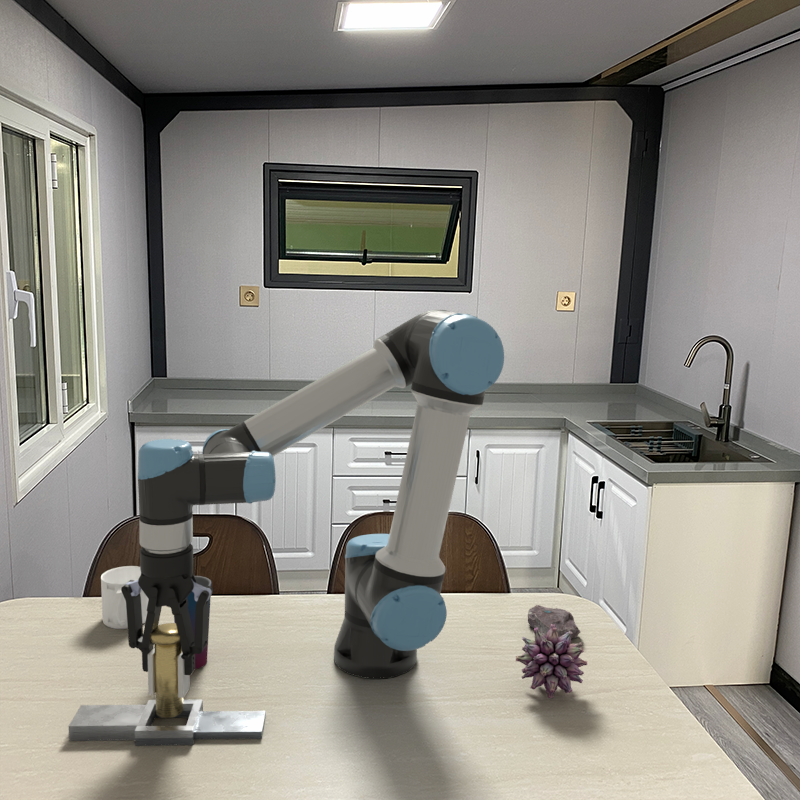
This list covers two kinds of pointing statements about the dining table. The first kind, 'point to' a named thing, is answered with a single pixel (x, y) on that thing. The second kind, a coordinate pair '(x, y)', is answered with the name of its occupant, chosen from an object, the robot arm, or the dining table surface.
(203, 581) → the cup
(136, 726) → the grey metal base plate
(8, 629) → the dining table surface
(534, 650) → the flower
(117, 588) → the mug
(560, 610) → the rock
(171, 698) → the pin
